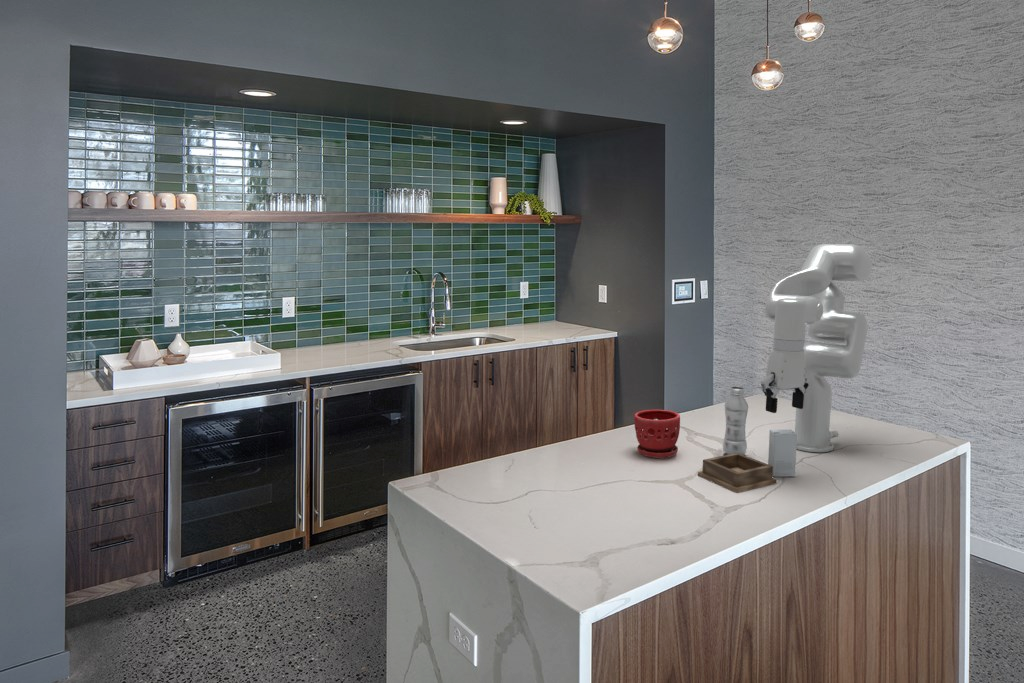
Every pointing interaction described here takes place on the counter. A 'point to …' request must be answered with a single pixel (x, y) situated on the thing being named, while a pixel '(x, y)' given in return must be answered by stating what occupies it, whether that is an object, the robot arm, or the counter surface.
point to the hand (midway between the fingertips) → (784, 409)
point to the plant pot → (657, 432)
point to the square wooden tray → (737, 472)
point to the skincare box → (782, 452)
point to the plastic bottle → (735, 422)
